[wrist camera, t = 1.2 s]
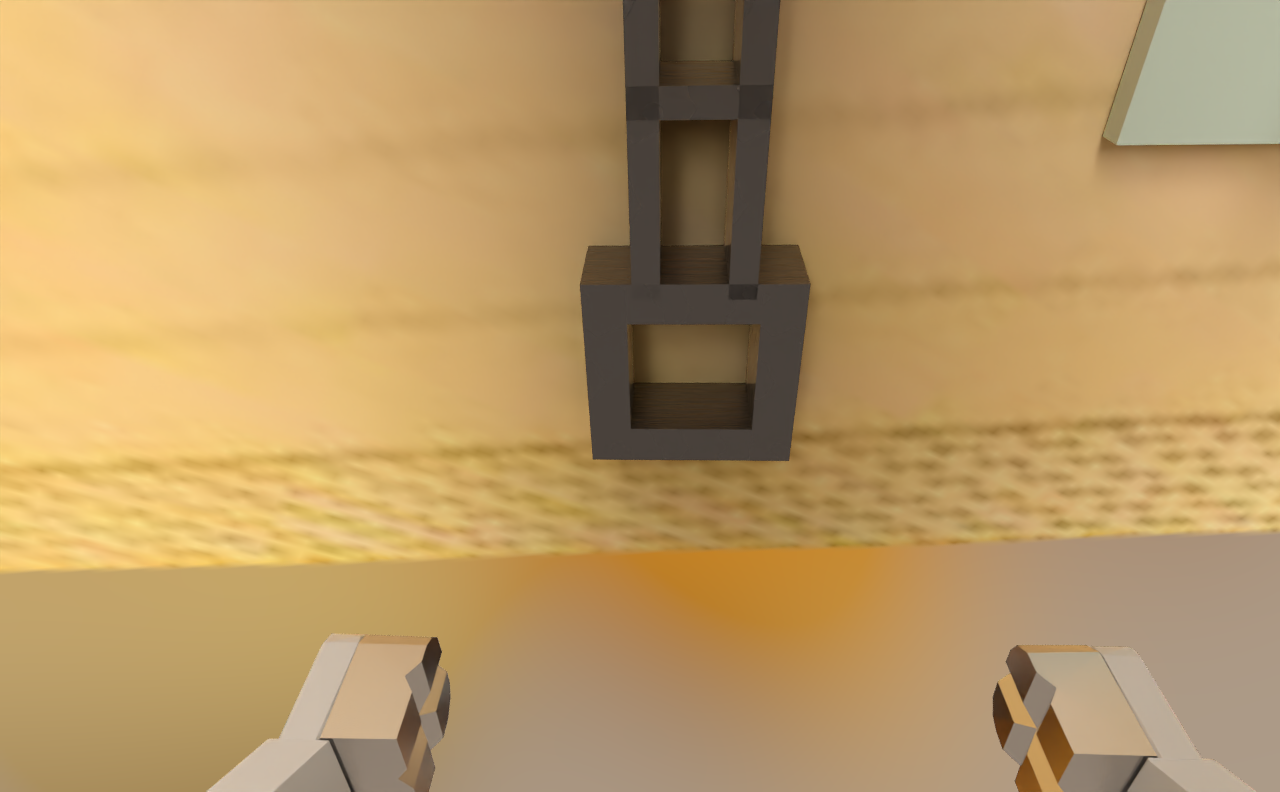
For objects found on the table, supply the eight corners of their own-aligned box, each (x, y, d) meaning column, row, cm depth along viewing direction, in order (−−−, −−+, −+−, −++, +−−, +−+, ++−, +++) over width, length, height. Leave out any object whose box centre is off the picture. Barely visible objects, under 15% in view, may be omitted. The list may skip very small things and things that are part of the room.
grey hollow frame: (779, 413, 34) (788, 460, 31) (599, 412, 34) (592, 459, 31) (843, -176, 22) (866, -179, 19) (561, -169, 22) (546, -171, 19)
